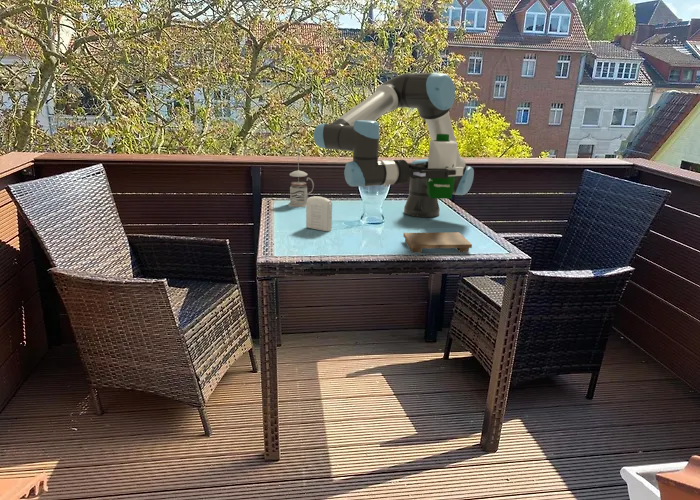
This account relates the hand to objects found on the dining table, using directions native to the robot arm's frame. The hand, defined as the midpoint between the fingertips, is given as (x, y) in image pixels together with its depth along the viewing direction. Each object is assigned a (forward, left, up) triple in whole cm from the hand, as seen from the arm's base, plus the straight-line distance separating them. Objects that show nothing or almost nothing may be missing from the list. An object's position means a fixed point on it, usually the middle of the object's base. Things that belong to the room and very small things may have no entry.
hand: (454, 169), depth 162 cm
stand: (+5, 0, -26) cm, 27 cm away
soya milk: (+5, -1, -9) cm, 10 cm away
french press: (+29, -74, -27) cm, 84 cm away
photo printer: (+35, -34, -27) cm, 55 cm away
